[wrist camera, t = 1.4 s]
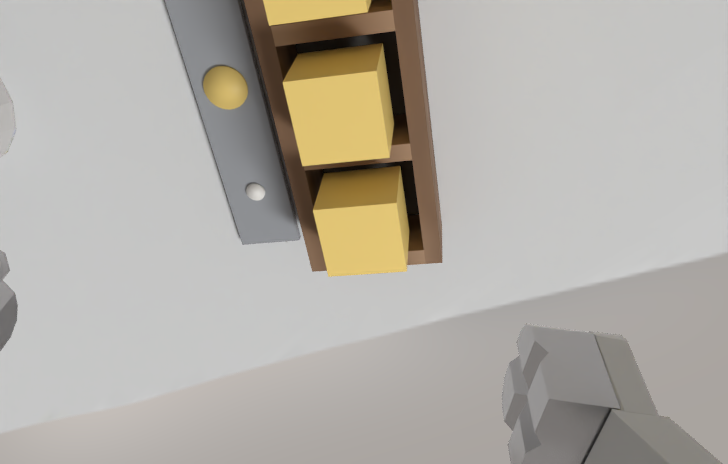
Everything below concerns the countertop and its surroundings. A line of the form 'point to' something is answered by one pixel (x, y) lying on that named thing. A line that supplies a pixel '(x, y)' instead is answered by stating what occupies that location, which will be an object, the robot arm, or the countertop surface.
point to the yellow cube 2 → (311, 9)
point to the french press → (6, 120)
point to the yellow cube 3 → (340, 105)
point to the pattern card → (235, 116)
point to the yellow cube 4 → (363, 221)
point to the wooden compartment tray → (411, 130)
